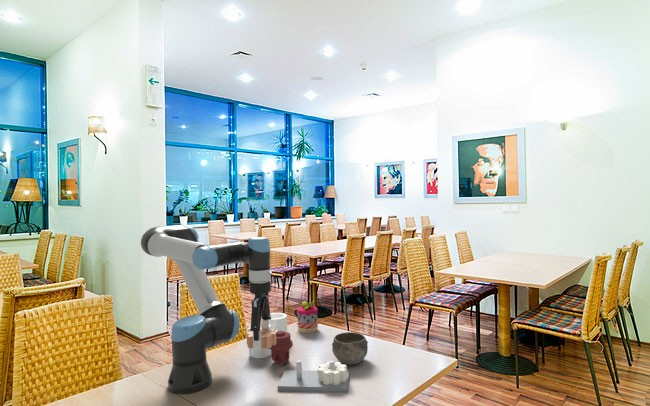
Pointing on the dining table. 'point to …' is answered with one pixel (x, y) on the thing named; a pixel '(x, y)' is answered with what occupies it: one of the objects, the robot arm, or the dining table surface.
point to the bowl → (350, 347)
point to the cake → (307, 318)
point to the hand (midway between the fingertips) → (261, 343)
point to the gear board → (308, 380)
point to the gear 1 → (263, 338)
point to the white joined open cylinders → (276, 323)
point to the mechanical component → (281, 347)
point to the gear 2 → (332, 373)
